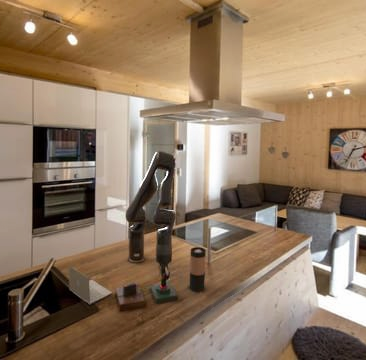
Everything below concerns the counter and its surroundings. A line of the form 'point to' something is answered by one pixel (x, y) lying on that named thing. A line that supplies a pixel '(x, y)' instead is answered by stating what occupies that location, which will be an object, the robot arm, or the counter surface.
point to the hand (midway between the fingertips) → (163, 285)
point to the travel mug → (197, 268)
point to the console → (130, 299)
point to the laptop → (86, 287)
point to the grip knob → (129, 289)
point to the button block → (163, 293)
